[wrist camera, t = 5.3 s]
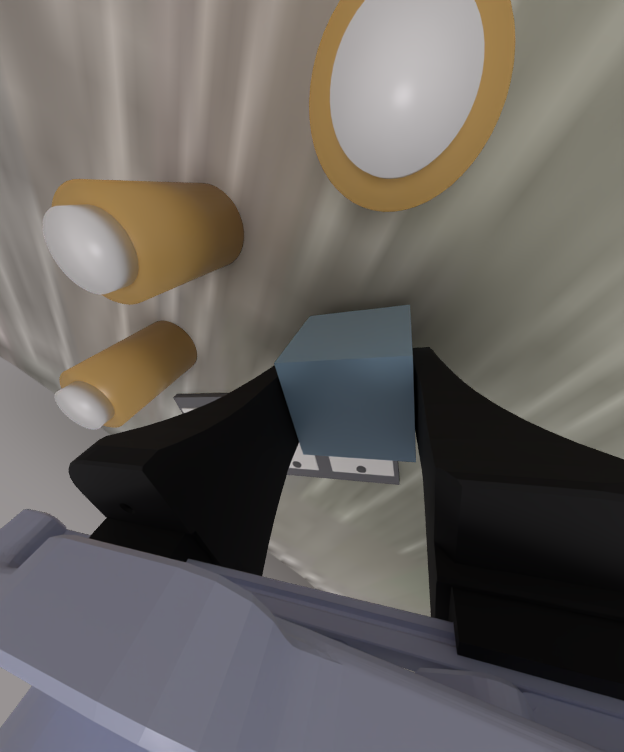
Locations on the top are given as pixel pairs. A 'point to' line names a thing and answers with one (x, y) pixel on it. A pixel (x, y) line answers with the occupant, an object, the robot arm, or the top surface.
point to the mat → (313, 463)
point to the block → (352, 384)
